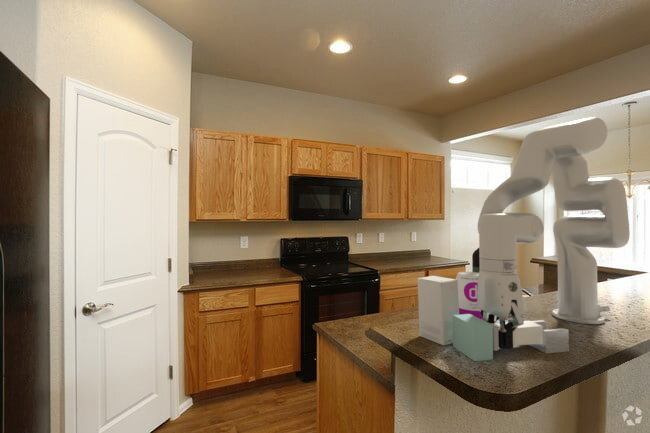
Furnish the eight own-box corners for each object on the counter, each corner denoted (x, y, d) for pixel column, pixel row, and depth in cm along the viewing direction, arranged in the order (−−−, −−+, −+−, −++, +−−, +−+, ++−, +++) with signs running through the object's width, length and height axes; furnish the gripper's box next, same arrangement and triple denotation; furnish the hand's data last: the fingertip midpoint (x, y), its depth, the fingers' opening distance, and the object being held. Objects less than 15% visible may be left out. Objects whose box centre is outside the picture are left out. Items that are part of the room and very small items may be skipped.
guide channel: (542, 339, 80) (542, 320, 80) (568, 351, 73) (568, 329, 73) (522, 341, 79) (521, 321, 79) (546, 353, 72) (546, 331, 72)
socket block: (470, 345, 77) (469, 313, 77) (492, 359, 69) (492, 324, 69) (453, 346, 76) (452, 315, 76) (474, 361, 68) (473, 326, 68)
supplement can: (491, 331, 86) (490, 276, 86) (459, 329, 88) (458, 275, 88) (482, 322, 94) (482, 271, 94) (453, 320, 96) (452, 271, 96)
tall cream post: (527, 338, 78) (526, 317, 78) (544, 346, 73) (544, 324, 73) (464, 343, 75) (464, 322, 75) (478, 352, 70) (478, 329, 70)
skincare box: (461, 341, 79) (460, 279, 79) (442, 347, 76) (441, 282, 76) (435, 331, 86) (434, 274, 87) (417, 335, 83) (416, 276, 84)
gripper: (541, 271, 66) (542, 358, 66) (487, 260, 83) (488, 330, 83) (509, 272, 65) (511, 361, 65) (461, 261, 82) (462, 332, 81)
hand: (498, 343), depth 74 cm, fingers closed on tall cream post, 4 cm apart
